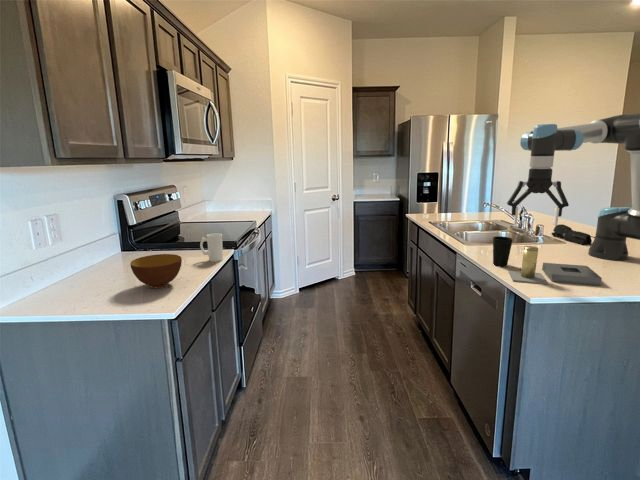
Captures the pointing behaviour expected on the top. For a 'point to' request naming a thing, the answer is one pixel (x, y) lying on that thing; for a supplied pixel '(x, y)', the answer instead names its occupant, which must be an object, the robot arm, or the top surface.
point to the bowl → (156, 269)
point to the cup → (501, 250)
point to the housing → (571, 274)
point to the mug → (213, 247)
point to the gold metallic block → (529, 262)
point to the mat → (517, 278)
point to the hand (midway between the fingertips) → (534, 224)
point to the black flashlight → (571, 235)
